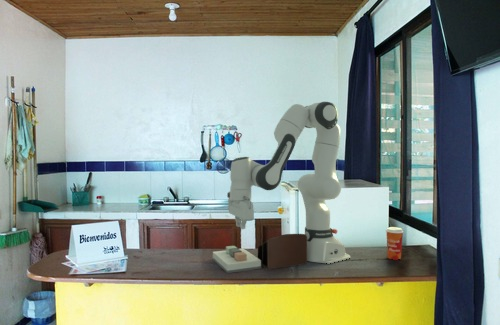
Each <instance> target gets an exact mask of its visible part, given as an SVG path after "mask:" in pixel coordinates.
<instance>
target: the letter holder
mask: <svg viewBox="0 0 500 325" xmlns="http://www.w3.org/2000/svg"><path fill="white" fill-rule="evenodd" d="M257 258H258V259H260V260H261V267H263V268H264V269H266V270H268V271H269V270H275V269H281V268H288V267H295V265H296V266H302V265H308V261H307V236H306V235H305V233H286V234H280V235H279V234H278V235H275V236H271V237H269V238H268V239H267V240H266V241H265V242H263V243H262V244H261V245H259V246H258V247H257Z"/></svg>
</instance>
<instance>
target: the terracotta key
mask: <svg viewBox="0 0 500 325" xmlns="http://www.w3.org/2000/svg"><path fill="white" fill-rule="evenodd" d="M234 259H235V260H236V261H237V262H238V261H246V260H247V254H246V253H244V252H238V253H235V258H234Z"/></svg>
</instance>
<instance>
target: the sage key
mask: <svg viewBox="0 0 500 325" xmlns="http://www.w3.org/2000/svg"><path fill="white" fill-rule="evenodd" d="M231 249H238V247H237V246H236V245H228V246H225V250H226V253H227V254H228V255H229V254H230V250H231Z"/></svg>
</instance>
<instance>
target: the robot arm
mask: <svg viewBox="0 0 500 325" xmlns="http://www.w3.org/2000/svg"><path fill="white" fill-rule="evenodd" d="M338 117H339V116H338V110H337V107H336V105H335V104H334V103H333V102H330V101H321V102H315V103H313V104H310V105H306V106H304V105H302V104H299V103H297V104H292V105H291V106H290V107H289V108H288V109H287V110H286V111H285V112H284V114H283V115H282V117H281V118H280V120H279V121H278V123H277V124H276V126H275V129H274V131H273V135H274V138H275V141H276V142H277V147H276V149H275V151H274V153H273V154H272V156H271V159H270V161H269V162H268V163H266V164H261V163H258V162H256V161H255V160H252V159H251V158H250V157H249V156H243V157H242V156H241V157H237V158H236V157H235V158H234V159H233V160H232V162H231V164H230V176H229V178H230V181H231V183H230V191H228V192H227V195H226V196H227V199H228V203H227V205H228V206H227V207H228V213H229V214H230V215H232V216H234V220H235V226H236V227H238V228H240V229H241V230H245V229H246V224H247V222H250V221H253V220H254V218H255V216H254V214H255V212H254V204H253V202H252V201H251V200H252V187H253V186H255V187H257V188H261V189H262V190H264V191H273V190H275V189H277V187H278V186H279V185H280V184H281V180H282V176H283V172H284V169H285V167H286V165H287V162H289V159H290V157H291V155H292V154H293V151H294V149H295V145H296V144H297V141H298V139H299V137H300V136H301V134H302V132H303V131H304V129H305V128H307V129H315V130H316V138H315V142H314V146H313V151H312V155H311V161H312V163H313V165H314V166H313V167H314V173H307V174H304V175H302V176H301V177H300V178H298V180H297V189H298V191H299V192H300V194H301V195H302V196H301V197H302V200H303V204H304V209H305V227H304V234H305V235H306V236H307V262H312V263H322V264H326V263H327V264H326V265H328V264H329V265H330V263H331V264H334V262H335V263H338V261H339V262H343V261H345V260H346V259H347V260H350V259H351V255H350V254H348V253H346V249H345V244H344V243H343V242H341V241H340V240H339V239H337V238H336V237H335V236H334V234H335V235H336V234H337V233H338V230H337V229H336V228H331V211H330V208H328V206H327V203H326V200H327V201H328V200H335V199H337V198H338V197H339V195H340V193H341V190H342V186H341V182H340V181H339V179H338V177H337V176H338V175H337V171H336V170H337V166H336V165H337V157H338V152H339V148H340V142H341V127H340V126H339V125H338V124H337V123H338ZM349 258H350V259H349ZM342 260H343V261H342Z"/></svg>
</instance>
